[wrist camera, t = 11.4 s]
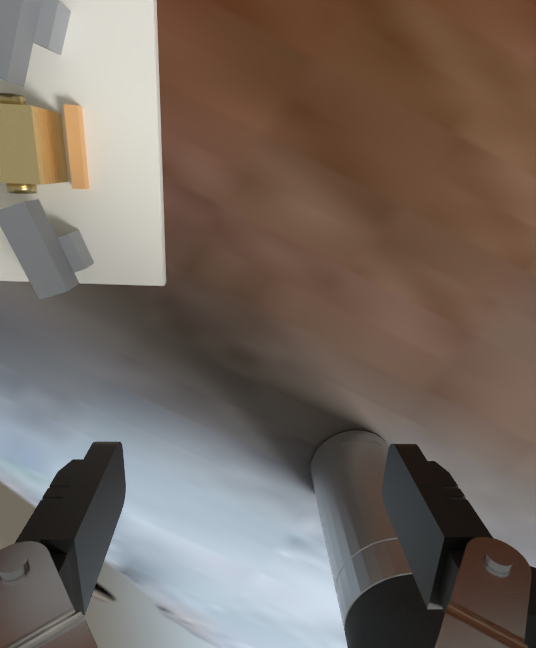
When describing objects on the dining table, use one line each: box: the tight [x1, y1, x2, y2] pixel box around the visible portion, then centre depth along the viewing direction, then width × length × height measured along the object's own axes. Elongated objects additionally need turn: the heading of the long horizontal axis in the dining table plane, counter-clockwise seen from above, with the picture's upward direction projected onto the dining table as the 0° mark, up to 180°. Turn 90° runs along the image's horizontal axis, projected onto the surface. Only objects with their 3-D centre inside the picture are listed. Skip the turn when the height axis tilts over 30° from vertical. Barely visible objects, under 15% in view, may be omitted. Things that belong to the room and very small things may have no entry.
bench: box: [0, 0, 166, 300], centre depth 32 cm, size 22×20×6 cm
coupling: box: [0, 93, 68, 194], centre depth 32 cm, size 7×5×5 cm
